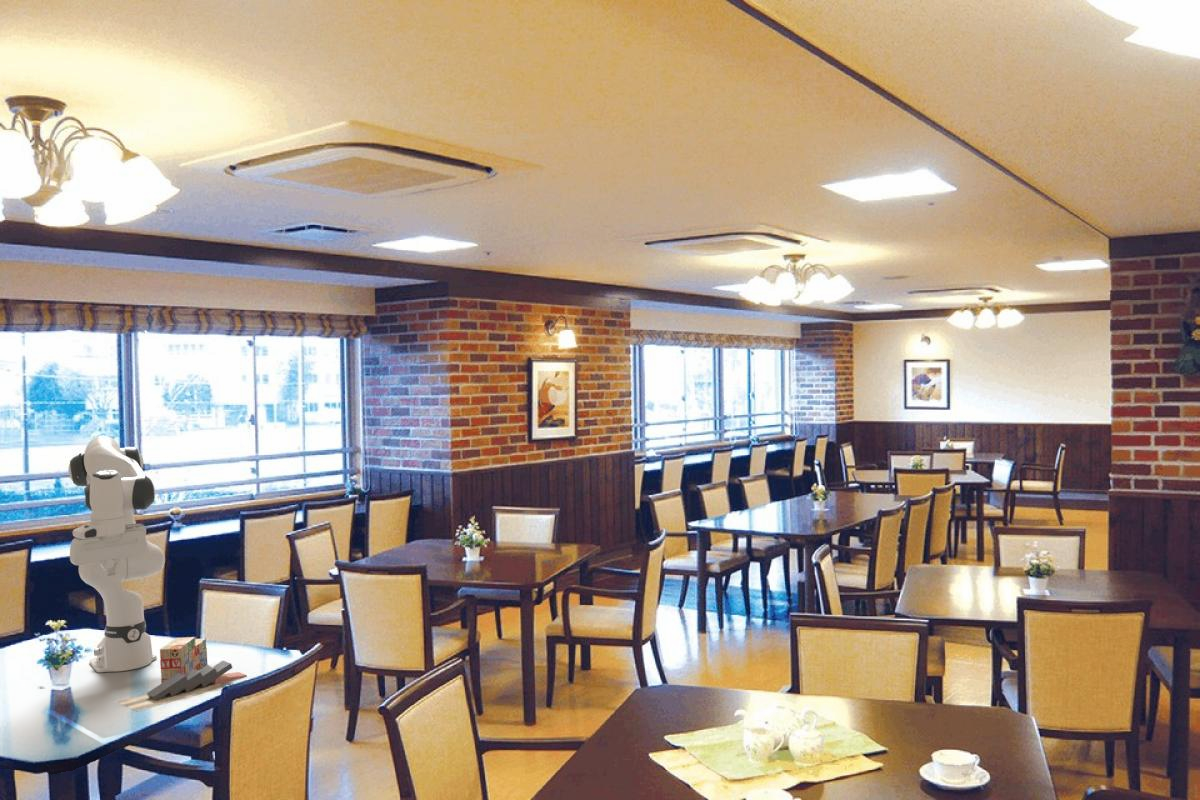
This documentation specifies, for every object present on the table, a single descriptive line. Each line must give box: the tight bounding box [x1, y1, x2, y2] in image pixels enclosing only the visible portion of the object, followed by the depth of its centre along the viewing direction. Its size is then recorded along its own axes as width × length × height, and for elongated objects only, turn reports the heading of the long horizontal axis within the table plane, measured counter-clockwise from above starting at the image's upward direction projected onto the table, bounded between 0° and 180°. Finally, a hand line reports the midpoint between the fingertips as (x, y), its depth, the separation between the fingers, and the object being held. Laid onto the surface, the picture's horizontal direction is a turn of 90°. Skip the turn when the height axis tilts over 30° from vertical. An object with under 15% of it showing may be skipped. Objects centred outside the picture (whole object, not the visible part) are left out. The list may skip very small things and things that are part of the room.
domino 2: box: [167, 669, 202, 697], centre depth 285 cm, size 2×5×10 cm
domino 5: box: [211, 671, 247, 685], centre depth 295 cm, size 2×5×10 cm
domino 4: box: [199, 660, 234, 687], centre depth 292 cm, size 2×5×10 cm
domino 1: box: [146, 673, 188, 701], centre depth 281 cm, size 2×5×10 cm
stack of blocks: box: [159, 636, 208, 684], centre depth 303 cm, size 21×6×12 cm, turn 2°
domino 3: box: [182, 664, 217, 692], centre depth 288 cm, size 2×5×10 cm
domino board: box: [117, 683, 224, 712], centre depth 282 cm, size 13×26×1 cm, turn 139°
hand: (110, 574), depth 277 cm, fingers closed
